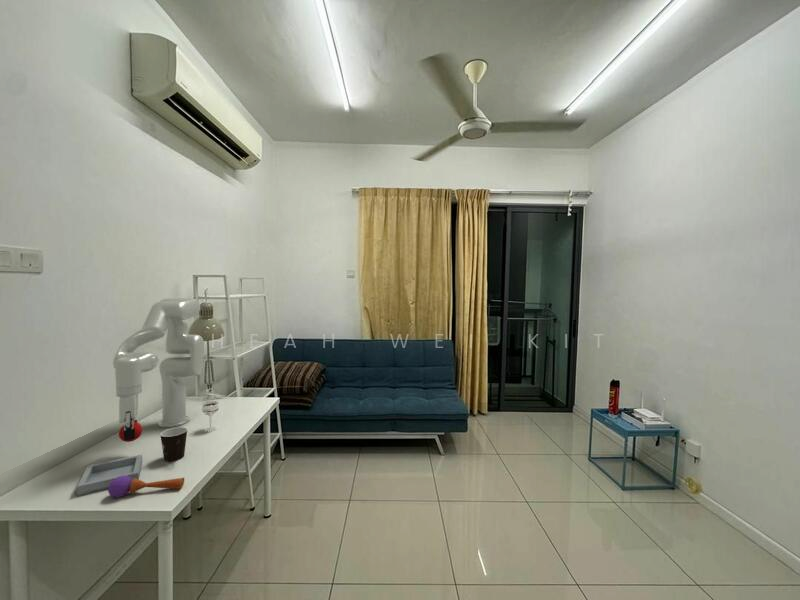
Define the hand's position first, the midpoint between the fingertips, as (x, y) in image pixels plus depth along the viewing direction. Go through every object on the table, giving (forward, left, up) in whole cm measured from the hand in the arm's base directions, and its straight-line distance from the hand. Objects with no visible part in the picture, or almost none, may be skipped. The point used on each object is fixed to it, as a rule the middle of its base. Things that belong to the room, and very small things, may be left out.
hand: (130, 434), depth 128 cm
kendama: (+31, +7, -9) cm, 33 cm away
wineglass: (-13, +28, -9) cm, 32 cm away
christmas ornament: (0, 0, -3) cm, 3 cm away
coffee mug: (+11, +14, -9) cm, 19 cm away
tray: (+15, -3, -8) cm, 18 cm away
